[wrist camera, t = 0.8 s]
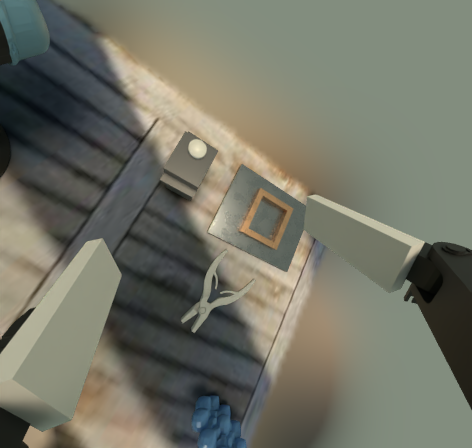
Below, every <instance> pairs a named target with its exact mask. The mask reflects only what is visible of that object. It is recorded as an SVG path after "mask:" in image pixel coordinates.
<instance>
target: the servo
mask: <svg viewBox="0 0 472 448" xmlns="http://www.w3.org/2000/svg"><path fill="white" fill-rule="evenodd" d="M217 152H218V150H216V149H215V148H213V147H212V146H210V145H209V144H207V143H206V142H204V141H203V140H201V139H199V138H198V137H196V136H195V135H193V134H192V133H190V132H189V131H188V133H187V132H186V131H185V133H184V135H183V136H182V138H181V140H180V141H179V143H178V145H177V146H176V148H175V150H174V151H173V153H172V155H171V156H170V158H169V160H168V161H167V163H166V165H165V166H164V173H163V175H162V177H161V178H160V181H161V182H163V183H165V184H166V188H168V189H169V190H171V191H173V192H175V193H177V194H179V195H181V196H182V197H184V198H186V199H188V200H190V201H191V200H192V198H193V197H194V195H195V193H196V191H197V189H198V188H199V186H200V184H201V182H202V180H203V178H204V176H205V175H206V173H207V171H208V169H209V167H210V165H211V164H212V162H213V160H214V158H215V156H216V154H217Z"/></svg>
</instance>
